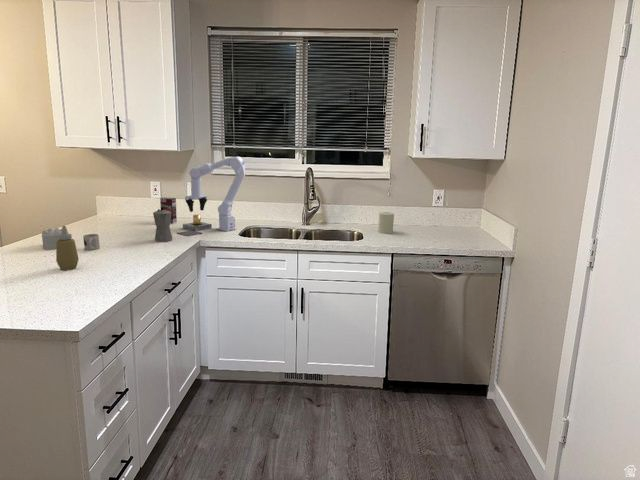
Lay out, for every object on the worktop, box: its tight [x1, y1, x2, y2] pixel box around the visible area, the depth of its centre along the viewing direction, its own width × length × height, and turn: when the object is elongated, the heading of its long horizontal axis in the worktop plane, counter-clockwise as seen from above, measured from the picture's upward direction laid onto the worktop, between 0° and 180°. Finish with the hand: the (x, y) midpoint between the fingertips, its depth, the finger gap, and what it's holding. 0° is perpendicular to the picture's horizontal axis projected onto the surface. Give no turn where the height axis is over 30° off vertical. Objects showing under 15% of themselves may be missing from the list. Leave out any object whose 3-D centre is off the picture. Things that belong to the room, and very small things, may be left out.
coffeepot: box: [152, 206, 173, 243], centre depth 238 cm, size 15×9×18 cm, turn 33°
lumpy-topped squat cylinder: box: [41, 227, 62, 251], centre depth 219 cm, size 10×13×9 cm
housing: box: [182, 221, 213, 232], centre depth 270 cm, size 12×12×2 cm
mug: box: [82, 233, 101, 251], centre depth 216 cm, size 10×7×7 cm, turn 21°
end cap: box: [192, 214, 202, 225], centre depth 270 cm, size 4×4×8 cm
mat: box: [176, 230, 203, 237], centre depth 256 cm, size 10×10×1 cm
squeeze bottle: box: [55, 225, 80, 271], centre depth 184 cm, size 8×8×18 cm
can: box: [377, 211, 395, 235], centre depth 273 cm, size 9×9×12 cm
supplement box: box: [159, 196, 178, 225], centre depth 283 cm, size 9×5×16 cm, turn 73°
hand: (196, 211), depth 268 cm, fingers open, 7 cm apart
